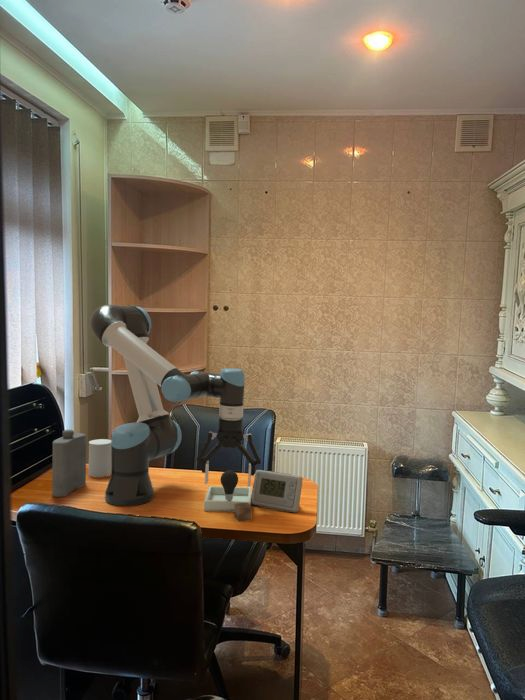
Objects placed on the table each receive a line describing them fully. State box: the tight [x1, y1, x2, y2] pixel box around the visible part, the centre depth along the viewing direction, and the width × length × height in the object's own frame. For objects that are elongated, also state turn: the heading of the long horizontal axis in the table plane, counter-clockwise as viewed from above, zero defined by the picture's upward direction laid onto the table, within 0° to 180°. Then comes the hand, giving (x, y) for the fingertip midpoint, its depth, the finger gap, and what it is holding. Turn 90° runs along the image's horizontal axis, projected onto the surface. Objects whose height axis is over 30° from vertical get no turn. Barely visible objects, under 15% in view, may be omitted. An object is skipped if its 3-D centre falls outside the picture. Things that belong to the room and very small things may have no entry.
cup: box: [88, 438, 112, 478], centre depth 191 cm, size 8×8×12 cm
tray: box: [203, 485, 252, 513], centre depth 165 cm, size 14×14×3 cm
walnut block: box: [233, 503, 253, 523], centre depth 153 cm, size 4×4×4 cm
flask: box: [51, 429, 87, 498], centre depth 173 cm, size 15×6×20 cm, turn 167°
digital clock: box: [251, 469, 303, 513], centre depth 164 cm, size 16×9×11 cm, turn 56°
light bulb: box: [220, 469, 239, 501], centre depth 165 cm, size 6×6×10 cm
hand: (227, 483), depth 165 cm, fingers open, 13 cm apart
